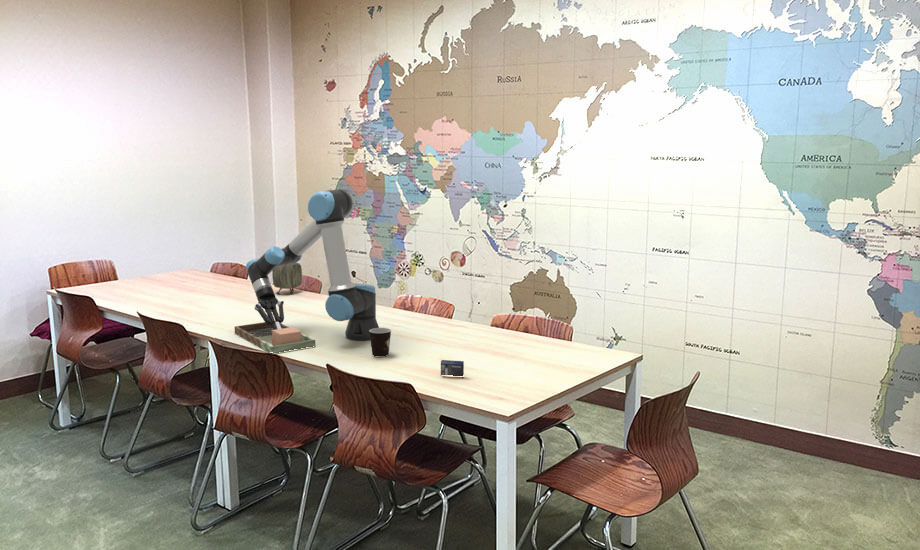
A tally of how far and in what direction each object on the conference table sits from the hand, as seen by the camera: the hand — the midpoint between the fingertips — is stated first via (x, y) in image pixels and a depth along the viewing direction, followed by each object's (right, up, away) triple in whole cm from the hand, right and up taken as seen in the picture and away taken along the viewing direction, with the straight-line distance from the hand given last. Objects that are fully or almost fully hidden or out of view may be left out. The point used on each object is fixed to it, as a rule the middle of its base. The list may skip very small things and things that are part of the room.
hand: (280, 336), depth 321 cm
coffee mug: (+42, -7, -16) cm, 46 cm away
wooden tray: (-5, -2, +7) cm, 9 cm away
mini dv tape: (+72, -12, -44) cm, 85 cm away
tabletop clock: (-20, +15, +104) cm, 107 cm away
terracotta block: (+3, -4, -4) cm, 7 cm away
